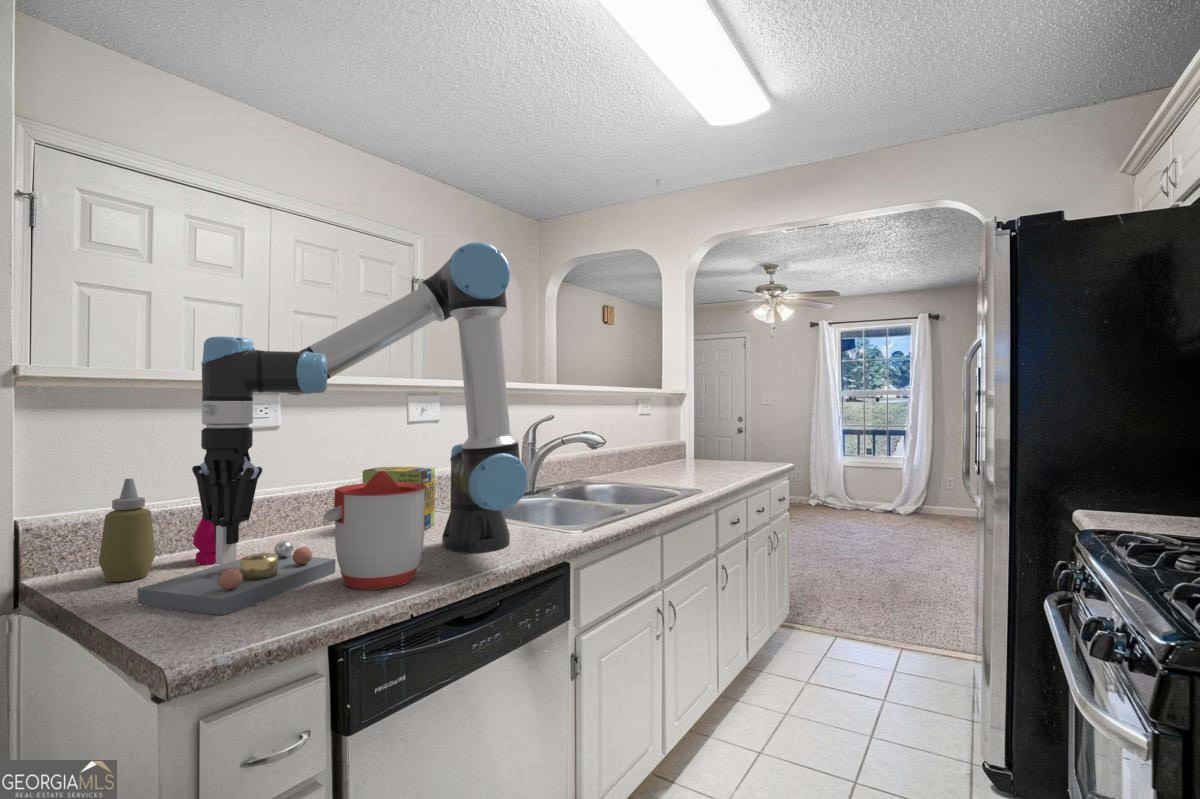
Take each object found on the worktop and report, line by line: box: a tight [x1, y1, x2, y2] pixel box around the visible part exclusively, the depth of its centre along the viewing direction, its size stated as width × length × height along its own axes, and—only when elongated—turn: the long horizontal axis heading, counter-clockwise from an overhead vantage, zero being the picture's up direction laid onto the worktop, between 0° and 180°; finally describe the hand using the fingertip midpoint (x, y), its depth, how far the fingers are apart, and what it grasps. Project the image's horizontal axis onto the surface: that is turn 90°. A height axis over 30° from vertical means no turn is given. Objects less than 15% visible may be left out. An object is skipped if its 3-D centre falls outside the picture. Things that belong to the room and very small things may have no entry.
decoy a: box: [292, 546, 313, 565], centre depth 107 cm, size 3×3×3 cm
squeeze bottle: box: [98, 477, 156, 583], centre depth 106 cm, size 8×8×18 cm
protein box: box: [362, 466, 436, 531], centre depth 151 cm, size 10×15×16 cm
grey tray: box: [137, 552, 336, 617], centre depth 102 cm, size 17×24×2 cm
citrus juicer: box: [322, 470, 426, 591], centre depth 105 cm, size 16×17×20 cm
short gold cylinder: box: [240, 552, 278, 580], centre depth 100 cm, size 6×6×3 cm
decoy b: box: [219, 569, 243, 590], centre depth 92 cm, size 3×3×3 cm
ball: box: [273, 540, 294, 558], centre depth 112 cm, size 3×3×3 cm
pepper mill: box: [192, 512, 216, 565], centre depth 119 cm, size 7×7×20 cm
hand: (226, 562), depth 102 cm, fingers closed
